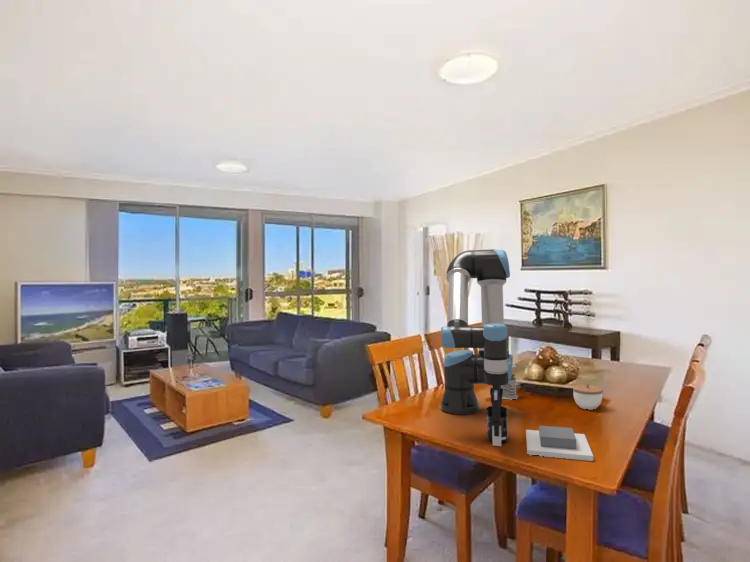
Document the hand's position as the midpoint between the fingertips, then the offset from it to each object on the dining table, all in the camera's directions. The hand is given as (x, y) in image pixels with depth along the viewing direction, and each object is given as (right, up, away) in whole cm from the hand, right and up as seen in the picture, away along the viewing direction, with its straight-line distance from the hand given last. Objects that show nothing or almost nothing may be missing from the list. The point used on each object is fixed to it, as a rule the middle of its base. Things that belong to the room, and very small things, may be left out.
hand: (497, 439), depth 147 cm
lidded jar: (+45, +1, +32) cm, 55 cm away
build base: (+17, 0, -6) cm, 18 cm away
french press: (+17, +1, +50) cm, 53 cm away
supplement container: (0, 0, 0) cm, 0 cm away
